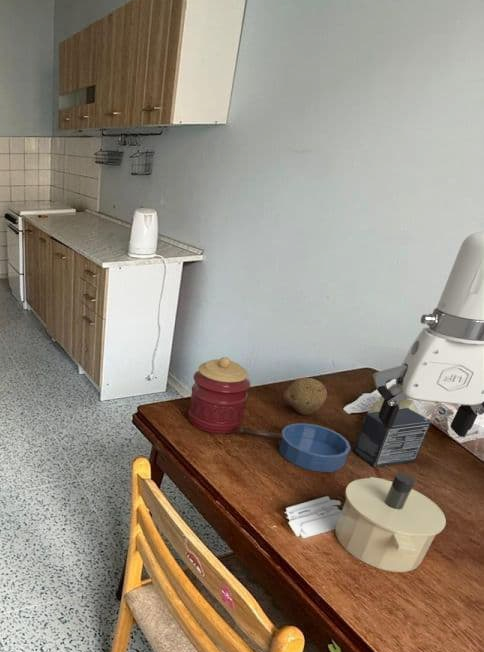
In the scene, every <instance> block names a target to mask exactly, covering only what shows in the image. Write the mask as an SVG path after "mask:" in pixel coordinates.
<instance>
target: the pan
mask: <svg viewBox="0 0 484 652" xmlns="http://www.w3.org/2000/svg"><path fill="white" fill-rule="evenodd" d="M280 433H281V434H282V439H281V440H278V443H277V445H278V446H277V449H278V452H279V454H280V455H281V457H283V458H284V459H285V460H286V461H288V462H290V463H291V464H292V465H295V466H297V467H299V468H302V469H304V470H309V471H312V472H317V473H333V472H338V471H339V470H341V469H343V468H344V467H345V465H346V462H347V460H348V457H349V455H350V453H351V449H352V448H351V445H350V442H349V440H347V439H346V437H344V436H343V435H342V434H341V433H338V432H336V431H335V430H333V429H331V428H328V427H324V426H322V425H320V424H319V425H318V424H313V423H305V422H302V423H300V422H299V423H291V424H288V425H285V426H284V427H283V428H282V430H281V431H280Z"/></svg>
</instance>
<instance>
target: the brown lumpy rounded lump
mask: <svg viewBox="0 0 484 652" xmlns="http://www.w3.org/2000/svg"><path fill="white" fill-rule="evenodd" d="M327 397H328V391H327V389H326V387H325V385H324V384H323V383H322V382H321V381H319V380H317V379H315V378H312V377H301V378H299V379H296V380H294V381H293V382H292V383H291V384H290V385H289V386H288V387H287V389H286V390H285V392H284V401H285V402H286V403H287V405H289V406H290V407H292V408H293V409H294V410H295V411H296V412H297V413H298V414H300V415H302V416H307V415H308V416H309V415H311V414H314V413H316V411H318V410H319V409H320V408H321V407H322V406H323V404H324V403H325V401H326V400H327Z"/></svg>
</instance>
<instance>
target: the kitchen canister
mask: <svg viewBox="0 0 484 652" xmlns="http://www.w3.org/2000/svg"><path fill="white" fill-rule="evenodd" d="M248 377H249V372H248V370H247V369H246V368H244V367H243V366H242V365H241V364H240V363H238V362H236V361H232V360H231V359H230V358H229V357H227V356H222V357H221V358H218V359H217V358H216V359H210V360H208V361H206V362H202V363H201V364H200V365H199V366H198V370H197V371H196V372H194V374H193V381H194V383H193V385H192V386H191V394H190V395H191V396H190V402H189V406H188V409H187V416H188V417H187V419H188V420H189V422H190V424H192V425H193V426H194V427H195V428H197V429H199V430H201V431H203V432H207V433H210V434H211V433H212V434H220V435H221V434H222V435H224V434H230V433H234V432H236V431H237V430H239V428H241V425H242V422H243V418H244V417H243V416H244V410H245V406H246V401H247V400H248V396H249V395H248V393H247V390H249V388H250V386H251V381H250V379H249V378H248Z"/></svg>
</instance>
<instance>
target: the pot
mask: <svg viewBox="0 0 484 652" xmlns="http://www.w3.org/2000/svg"><path fill="white" fill-rule="evenodd" d="M369 478H373V479H382V480H386V479H385V478H380V477H374V476H369ZM334 531H335V537H336V539H337V541H338V543H339V544H340V545H341V546H342V547H343V548H344V550H345V551H346V552H347V553H349V554H350V555H352V556H353V557H355V558H356V559H357V560H359V561H361V562H363V563H364V564H367V565H368V566H371V567H373V568H376V569H378V570H379V569H380V570H383V571H385V572H386V571H387V572H393V573H407V572H411V571H414V570H416V569H417V568H418V567H419V566H420V565H421V564H422V563H423V560H424V558H425V556H426V554H427V552H428V550H429V548H430V547H431V544H432V543H433V541H434V539H435V538H436V535H434V536H429V537H414V536H407V535H403V534H398V533H395V532H392V531H389V530H386V529H384V528H382V527H379V526H377V525H375V524H373V523H371V522H370V521H368V520H366V519H365V518H364V517H362V516H361V515H359V514H358V513H357V512H356V511H355V510H354V509H353V508H352V507H351V506H350V504H349V503H348V501H347V499H346V498H345V501H344V504H343V507H342V508H341V511H340V514H339V517H338V519H337V522H336V525H335V530H334Z"/></svg>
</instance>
